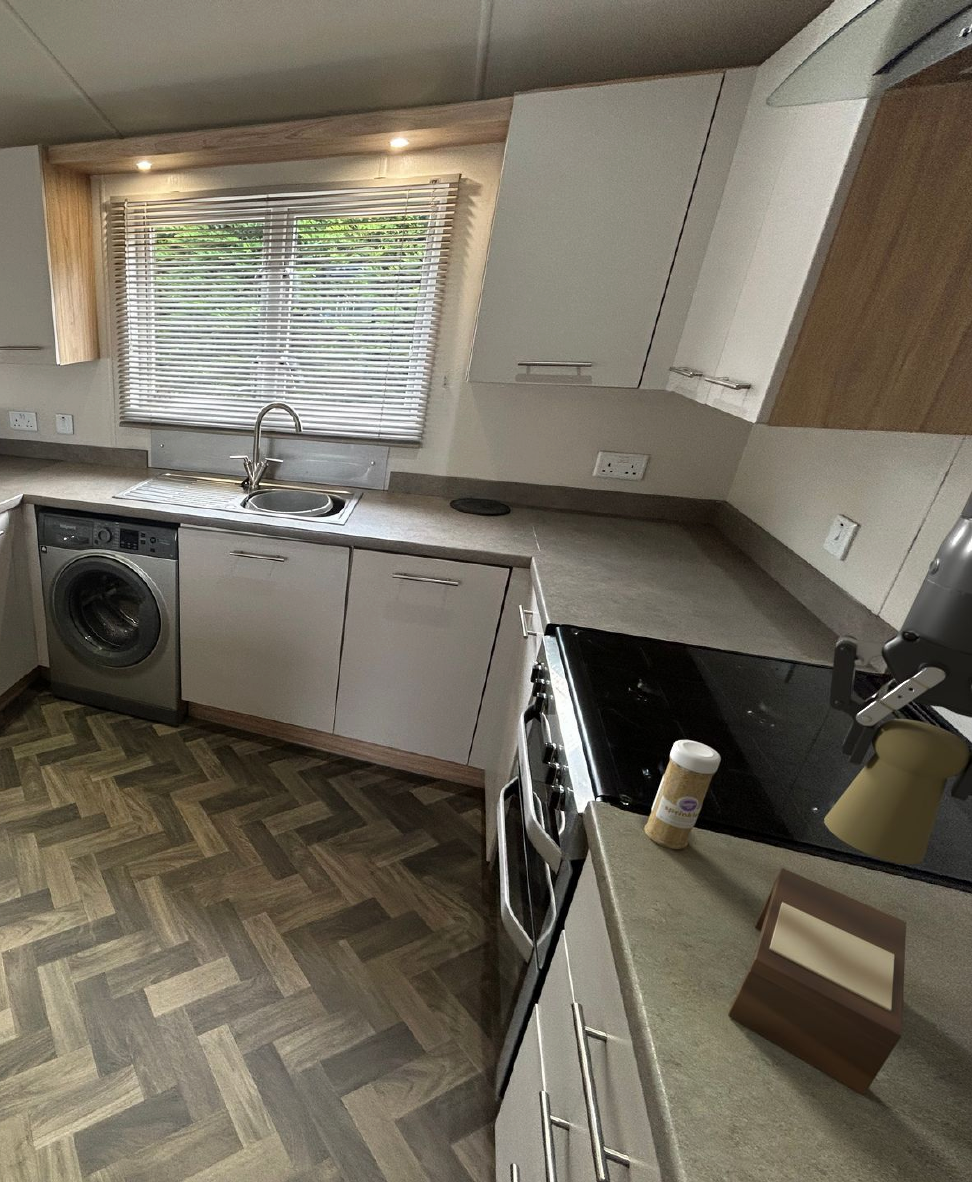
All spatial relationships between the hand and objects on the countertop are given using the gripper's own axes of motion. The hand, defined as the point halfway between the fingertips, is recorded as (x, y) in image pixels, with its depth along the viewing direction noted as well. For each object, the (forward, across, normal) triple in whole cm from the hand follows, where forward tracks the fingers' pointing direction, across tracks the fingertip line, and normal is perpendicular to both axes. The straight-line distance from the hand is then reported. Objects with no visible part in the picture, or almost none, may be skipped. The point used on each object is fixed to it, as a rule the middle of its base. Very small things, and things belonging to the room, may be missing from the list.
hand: (903, 776), depth 52 cm
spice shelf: (+25, -1, 0) cm, 25 cm away
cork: (+7, 0, 0) cm, 7 cm away
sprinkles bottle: (+26, +14, -15) cm, 33 cm away
